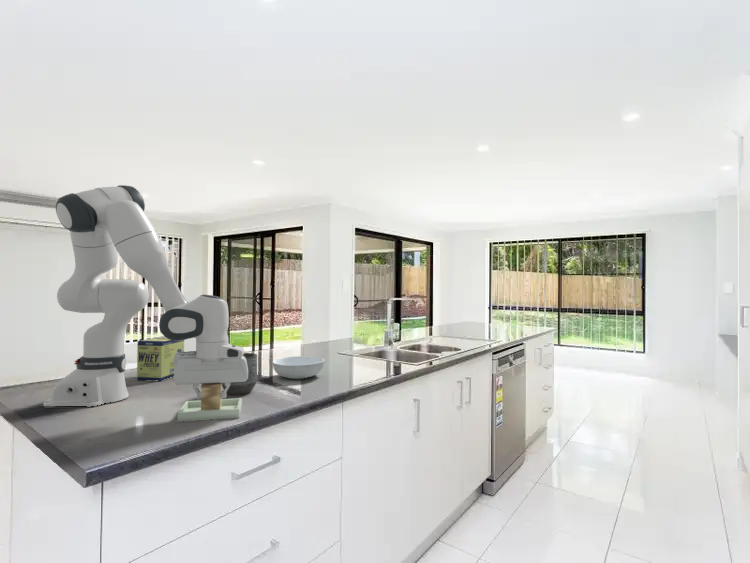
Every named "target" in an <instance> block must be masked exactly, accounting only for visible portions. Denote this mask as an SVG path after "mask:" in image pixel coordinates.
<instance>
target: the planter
mask: <svg viewBox="0 0 750 563" xmlns="http://www.w3.org/2000/svg"><path fill="white" fill-rule="evenodd" d="M243 356H244V357H245V358H246V360H247V365H248V379H247V380H246V381H245V382H230V387H229V388H228V390H227V392H226V395H232V396H241V395H242V396H243V395H246V394H250V393H251V392H252V391H253V390H254V388H255V386H256V384H257V383H258V382H257V381H258V354H256V353H254V352H244V355H243ZM226 387H227V386H225V383H222V390H223V391H224V390H225V388H226Z"/></svg>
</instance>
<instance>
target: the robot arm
mask: <svg viewBox="0 0 750 563" xmlns="http://www.w3.org/2000/svg"><path fill="white" fill-rule="evenodd" d="M56 201H57V202H56V203H55V212H56V216H57V219H58V221H59V222H60V224H61V225H62V226H63V227H64V228H65V229H66V230H68V231H69V233H70V240H71V244H72V248H73V250H72V251H73V255H74V262H75V265H74V267H75V268H74V271H73V274H72V275H71V276H70V278H69V279H67V280H66V281H64V282H63V283H62V284H61V285H60V286H59V288H58V290H57V294H56V300H57V303H58V304H59V306H60V307H61V308H62V309H63V310H64V311H68V312H73V313H81V314H91V313H92V314H96V313H97V314H100V313H101V314H104V315H103V316H104V317H103V318H102V321H101V322H98V323H97V324H94V325H92V326H91V327H89V328H87V329H86V331H85V332H84V334H83V345H82V346H83V349H82V350H83V351H82V352H83V354H82V355H81V356H80V357H79V358H78V359H76V360H74V365H75V366H76V368H75V369H74V370H73V371H71V372H70V373H69V374H67V375H66V376H64V377H63V378H61V379H60V380H59V381H58V382H57V383H56V384H55V386H54V388H53V390H52V397H48V398H47V399H46V400H44V401H43V404H42V406H43V405H44V406H87V407H86V408H92V407H91V406H94V407H98V406H102V405H105V404H104V403H106V404H110V402H111V403H115V402H119V401H122V400H125V399H127V398H129V396H130V394H129V392H128V389H127V384H126V378H125V370H126V361H127V360H126V354H125V339H126V338H125V337H126V329H127V328H128V325H129V323H130V322H131V320H132V318H134V317H135V316H136V314H138V313H139V312H141V311H142V310H143V309H144V308H146V306H147V305H148V302H149V299H150V293H149V289H148V287H147V285H145V283H144V282H142V281H138V280H132V279H125V278H124V279H121V278H120V279H119V278H118V279H117V278H116V279H115V278H114V279H113V278H111V279H110V278H107V279H106V278H103V276H102V274H105V273H107V272H109V271H111V270H113V269H114V268H115V267H116V266H117V265H118V262H119V257H120V258H121V260H123V262H124V263H125V265H126V266H127V267H128V268H129V269H130V270H132V271H133V272H135V273H136V274H138V275H139V276H140V277H142V278H143V279H144V280H146V282H148V283H149V285H150V286H151V288H152V289H153V291H154V293H155V294H156V296H157V298H158V300H159V302H160V304H161V305H162V308H163V309H164V313H163V314H162V315H161V317H160V319H159V325H158V326H159V330H160V333H161V334H162V336H163V337H166V338H168V339H170V340H173V341H182V340H184V341H185V340H189V339H194V338H195V350H190V351H185V350H184V351H182V352H179V353H177V354H176V355H175V356H174V358H173V364H174V366H175V371H174V377H173V383H174V384H175V385H176V386H184V385H185V386H187V385H192V389H193V391H194V392H195V394H196V400H201V390H200V389H199V386H200V385H202V384H207V383H225V386H227V387H226V388H225V390H224V389H223V390H222V391H221V398H222V399H227V393H226V392H227V390H228V388H229V387H230V382H245V381H246V380H247V379H248V365H247V360H246V358H245V357H244V356H243V355H244V353H245V349H244V347H243V346H238V345H235V344H231V343H229V342H230V341H229V335H228V329H229V325H230V323H229V322H230V319H229V318H230V316H229V315H230V314H229V306H228V305H229V304H228V302H227V301H226V300H225V299H224V298H223V297H222V296H217V295H211V294H200V295H199V296H198V297H196V298H194V299H192V300H191V301H187V299H186V298H185V297H184V295H183V293H182V291H181V289H180V287H179V285H178V284H177V282H176V280H175V278H174V276H173V274H172V272H171V268H170V264H169V262H168V259H167V256H166V252H165V249H164V245H163V243H162V241H161V239H160V236H159V234H158V232H157V230H156V228H155V226H154V225H153V223H152V221H151V219H150V218H149V216H148V215H147V213H146V212H145V209H146V208H145V206H146V204H145V200H144V198H143V195H142V194H141V192H140V191H139V190H138V189H137V188H135V187H134V186H131V185H123V184H122V185H121V184H119V185H117V186H105V187H103V186H102V187H97V188H96V187H95V188H93V189H89V190H84V191H80V192H76V193H68V194H66V195H62V196H61V197H59V198H57V200H56ZM101 404H102V405H101ZM97 405H98V406H97Z"/></svg>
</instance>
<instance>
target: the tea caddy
mask: <svg viewBox="0 0 750 563" xmlns="http://www.w3.org/2000/svg"><path fill="white" fill-rule="evenodd" d="M221 391H223V387H222V383H207V384H200V392H201V399H200V400H201V411H202V410H218V409H220V408H221V405H222V399H223V398H221Z"/></svg>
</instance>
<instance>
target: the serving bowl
mask: <svg viewBox="0 0 750 563" xmlns="http://www.w3.org/2000/svg"><path fill="white" fill-rule="evenodd" d="M325 360H326V359H325V358H322V357H318V356H314V355H313V356H310V355H309V356H308V355H298V356H285V357H279V358H276V359H273V361H272V368H273V370H274V372H275V373H276V374H277V375H278V376H281V377H283V378H287V379H290V380H305V379H308V377H309V378H310V377H313V376H316V375H318V374H319V373H320V372H322V371H323V370H322V369H324V365H325ZM304 378H305V379H304Z"/></svg>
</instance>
